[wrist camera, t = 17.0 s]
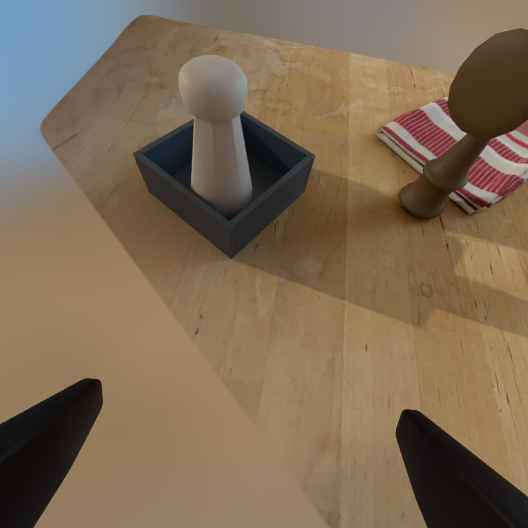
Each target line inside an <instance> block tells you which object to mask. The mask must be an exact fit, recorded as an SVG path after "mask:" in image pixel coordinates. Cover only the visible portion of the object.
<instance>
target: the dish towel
mask: <svg viewBox="0 0 528 528" xmlns="http://www.w3.org/2000/svg"><path fill="white" fill-rule="evenodd" d="M447 102H448V97H445V98H443V99H440V100H437V101H434V102H432V103H430V104H428V105H425V106H423V107H421V108H419V109H415V110H413V111H411V112H408V113H406V114H404V115H402V116H400V117H398V118H396V119H395V120H393V121H392V122H391V123H389V124H387V125H385V126H383V127H381V128H379V129H378V130H377V131H376V134H377V135H378V136H379V138H380V139H381V140H383V141H384V142H385V143H386V144H387V145H388V146H389V147H391V148H392V149H393V150H394V151H395V152H396V153H398V154H399V155H400V156H401V157H402V158H403V159H405V160H406V161H407V162H408V163H409V164H410V165H412V166H413V167H414V168H415V169H416V170H417V171H418V172H419V173H421V174H423V167H424V165H425V163H427V162H428V161H430V160H432V159H436V158H439V157H441V156H442V155H443V154H445V153H446V152H447V151H448V150H449V149H451V148H452V147H453V146H454V145H455V144H456V143H457V142H458V141H459V140H461V139H462V138H463V137H464V136H465V135H466V134H467V133H465V132H463V131H461V130H460V129H459V128H458V127H457V125H456V124H455V123H454V122H453V120H452V119H451V117H450V113H449V109H448V105H447ZM468 176H469V180H468V182H467V185H465V186H464V187H463V188H461V189H460V190H457V191H453V192H452V193H451V194H450V195H449V196H448V197H450V198H451V199H452V200H453V201H455V202H456V203H458V204H459V205H460V206H461V207H462V208H463V209H464V210H465V211H466V212H467V213H468V214H470V215H471V214H474V213H476V212H479V211H481V210H486V209H487V208H489V207H490V206H492V205H494V204H496V203H498V202H500V201H501V200H503V199H504V198H505V197H507V196H508V195H509V194H510V193H512V192H513V191H514V190H515V189H516V188H518V187H520V186H521V185H522V184H523V183H524V182H525V181H526V180H527V179H528V120H527V121H526V122H525V123H523V124H522V125H521V126H520V127H518V128H517V129H516V130H514V131H512V132H509V133H506V134H504V135H501V136H499V137H496V138H493V139H491V140H490V142H489V143H488V144H487V146H486V147H485V148H484V150H483V151H482V152H481V154H480V155H479V157H478V158H477V159H476V161H475V162H474V164H473V165H472V167H471V168H470V170H469V172H468Z"/></svg>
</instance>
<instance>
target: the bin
mask: <svg viewBox="0 0 528 528" xmlns="http://www.w3.org/2000/svg"><path fill="white" fill-rule="evenodd" d="M240 120H241V126H242V132H243V137H244V143H245V149H246V155H247V161H248V167H249V172H250V178H251V184H252V195H251V201H250V204H249V205H248V206H247V207H246V208H244V209H243V210H242V211H241V212H240V213H238V214H237V215H236V216H235V217H234V218H233V219H231V220H230V221H228V220H227V219H226V218H225V217H223V216H222V215H221V214H219V213H218V212H217V211H215V210H214V209H213V208H212V207H210V206H209V205H208V204H206V203H205V202H204V201H203V200H201V199H200V198H199V197H197V196H196V195H195V194H193V193H192V192H191V173H192V153H193V132H194V119H192V120H191V121H189V122H187V123H185V124H184V125H182V126H180V127H178V128H177V129H175V130H173V131H171V132H170V133H168V134H166V135H164V136H163V137H161V138H159V139H157V140H156V141H154V142H152V143H150V144H149V145H147V146H145V147H143V148H142V149H140V150H138V151H136V152H134V153H133V155H134V158H135V160H136V162H137V165H138V167H139V169H140V172H141V174H142V176H143V179H144V181H145V183H146V185H147V188H148V190H149V192H150V193H151V194H152V195H154V196H155V197H156V198H157V199H159V200H160V201H161V202H162V203H163V204H165V205H166V206H167V207H168V208H170V209H171V210H172V211H173V212H174V213H176V214H177V215H178V216H179V217H181V218H182V219H183V220H184V221H185V222H187V223H188V224H189V225H190V226H192V227H193V228H194V229H195V230H196V231H198V232H199V233H200V234H201V235H203V236H204V237H205V238H206V239H207V240H209V241H210V242H211V243H212V244H214V245H215V246H216V247H217V248H218V249H220V250H221V251H222V252H223V253H225V254H226V255H227V256H228V257H229V258H231V259H232V258H233V257H234V256H235V255H236V254H237V253H238V252H239V251H240V250H241V249H243V248H244V247H245V246H246V245H247V244H248V243H249V242H250V241H251V240H252V239H253V238H254V237H256V236H257V235H258V234H259V233H260V232H261V231H262V230H263V229H264V228H265V227H266V226H267V225H268V224H270V223H271V222H272V221H273V220H274V219H275V218H276V217H277V216H278V215H279V214H280V213H281V212H283V211H284V210H285V209H286V208H287V207H288V206H289V205H290V204H291V203H292V202H293V201H294V200H295V199H297V198H298V197H299V196H300V195H301V194H302V193H303V192H304V191H305V188H306V184H307V181H308V178H309V175H310V171H311V168H312V165H313V162H314V158H315V155H314V154H312V153H310V152H309V151H307V150H306V149H304V148H302V147H301V146H299V145H297V144H296V143H294V142H293V141H291V140H289V139H288V138H286V137H285V136H283V135H281V134H280V133H278V132H276V131H275V130H273V129H272V128H270V127H268V126H267V125H265V124H264V123H262V122H260V121H259V120H257V119H255V118H254V117H252V116H251V115H249V114H247V113H246V112H244V111H243V112H242V113H241V114H240Z"/></svg>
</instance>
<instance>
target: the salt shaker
mask: <svg viewBox="0 0 528 528" xmlns="http://www.w3.org/2000/svg"><path fill="white" fill-rule="evenodd" d="M179 90H180V94H181V98H182V100H183V103H184V105H185V108H186V109H187V111H188V112H189V113H191V114H192V115H193V116H194V132H193V153H192V173H191V192H192V193H193V194H195V195H196V196H197V197H199V198H200V199H201V200H203V201H204V202H205V203H206V204H208V205H209V206H210V207H212V208H213V209H214V210H215V211H217V212H218V213H219V214H221V215H222V216H223V217H225V218H226V219H227V220H228V221H230V220H231V219H233V218H234V217H235V216H236V215H237V214H238V213H240V212H241V211H242V210H243V209H244V208H246V207H247V206H248V205H249V204H250V201H251V195H252V184H251V178H250V172H249V167H248V161H247V155H246V149H245V143H244V137H243V132H242V126H241V120H240V114H241V113H242V112H243V111H244V108H245V105H246V100H247V90H248V86H247V78H246V75H245V74H244V72H243V71H242V69H241V68H240V67H239V66H238V64H237V63H235V62H233V61H232V60H230V59H229V58H225V57H221V56H216V55H204V56H200V57H195V58H193V59H191V60H190V61H188V62H187V63H185V65H184V66H183V67H182V69H181V71H180V74H179Z"/></svg>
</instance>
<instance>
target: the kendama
mask: <svg viewBox="0 0 528 528" xmlns="http://www.w3.org/2000/svg"><path fill="white" fill-rule="evenodd" d="M447 105H448V109H449V113H450V117H451V119H452V120H453V122H454V123H455V124H456V125H457V127H458V128H459V129H460V130H461V131H463V132H465V133H467V134H466V135H465V136H464V137H463V138H462V139H461V140H459V141H458V142H457V143H456V144H455V145H454V146H453V147H452V148H451V149H449V150H448V151H447V152H446V153H445V154H443V155H442V156H441V157H439V158H436V159H432V160H430V161H428V162H427V163H425V165H424V167H423V174H422V175H421V176H420V177H419V178H418V180H416V181H415V182H414V183H410V184H408V185H406V186H405V187H403V188H402V189H401V191H400V193H399V199H400V202H401V204H402V205H403V207H404V208H405V209H406V210H407V211H408V212H409V213H411V214H412V215H414V216H417V217H419V218H425V219H430V218H434V217H437V216H438V215H439V214H441V213H442V212H443V210H444V208H445V205H446V204H445V200H446V199H447V197H448V196H449V195H450V194H451V193H452V192H453V191H457V190H460V189H461V188H463V187H464V186H465V185H467V182H468V180H469V176H468V172H469V170H470V168H471V167H472V165H473V164H474V162H475V161H476V159H477V158H478V157H479V155H480V154H481V152H482V151H483V150H484V148H485V147H486V146H487V144H488V143H489V142H490V140H491V139H493V138H496V137H499V136H501V135H504V134H506V133H509V132H512V131H514V130H516V129H517V128H518V127H520V126H521V125H522V124H523V123H525V122H526V121H527V120H528V30H525V29H521V28H520V29H515V30H510V31H505V32H501V33H497V34H495V35H494V36H492V37H491V38H489V39H488V40H487V41H485V42H484V43H482V44H481V45H480V46H478V47H477V48H476V49H475V50H474V51H473V52H472V53H471V55H470V56H469V57H468V58H467V59H466V61H465V62H464V63H463V64H462V65H461V66H460V68H459V70H458V72H457V74H456V76H455V78H454V80H453V82H452V84H451V86H450V91H449V96H448V102H447Z"/></svg>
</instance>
